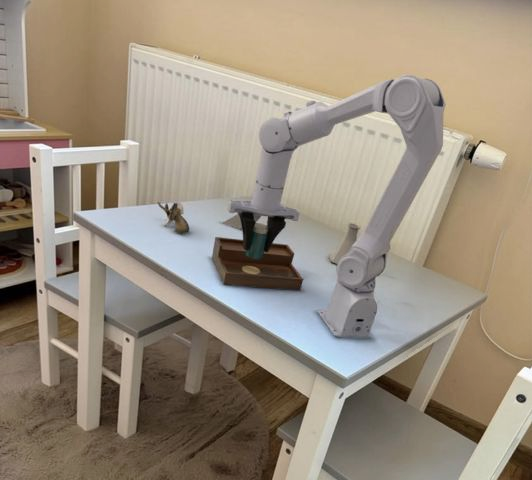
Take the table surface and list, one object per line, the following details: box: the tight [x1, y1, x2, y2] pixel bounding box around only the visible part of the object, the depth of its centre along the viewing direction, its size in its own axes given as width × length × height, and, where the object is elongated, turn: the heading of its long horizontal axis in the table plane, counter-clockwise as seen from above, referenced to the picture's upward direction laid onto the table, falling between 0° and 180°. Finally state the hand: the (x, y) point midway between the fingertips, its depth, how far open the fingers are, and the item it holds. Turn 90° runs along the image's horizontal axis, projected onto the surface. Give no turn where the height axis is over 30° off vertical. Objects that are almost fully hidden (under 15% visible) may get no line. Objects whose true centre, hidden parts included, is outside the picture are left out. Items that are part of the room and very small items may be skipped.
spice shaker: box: [245, 222, 268, 259], centre depth 106 cm, size 4×4×6 cm
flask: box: [329, 222, 361, 265], centre depth 129 cm, size 7×7×10 cm
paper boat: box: [222, 213, 262, 230], centre depth 138 cm, size 12×6×9 cm
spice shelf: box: [211, 236, 304, 291], centre depth 112 cm, size 13×17×5 cm
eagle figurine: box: [157, 201, 190, 235], centre depth 125 cm, size 8×7×9 cm
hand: (255, 249), depth 107 cm, fingers closed on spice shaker, 4 cm apart
